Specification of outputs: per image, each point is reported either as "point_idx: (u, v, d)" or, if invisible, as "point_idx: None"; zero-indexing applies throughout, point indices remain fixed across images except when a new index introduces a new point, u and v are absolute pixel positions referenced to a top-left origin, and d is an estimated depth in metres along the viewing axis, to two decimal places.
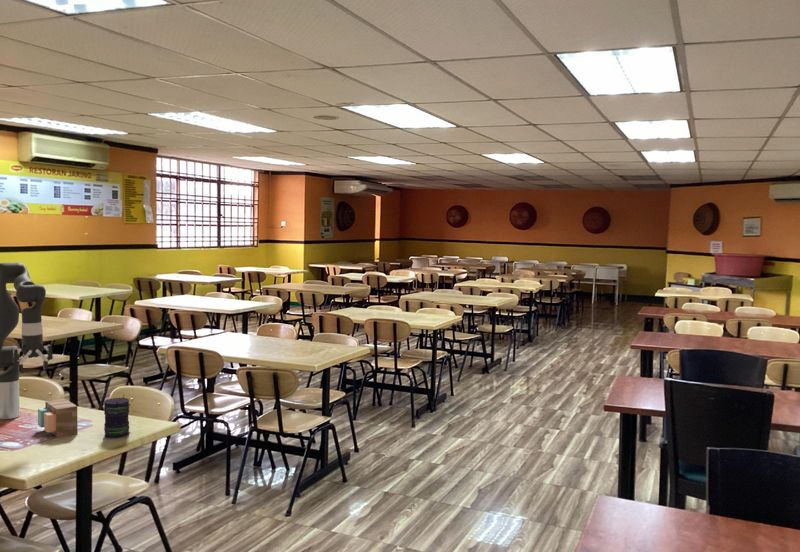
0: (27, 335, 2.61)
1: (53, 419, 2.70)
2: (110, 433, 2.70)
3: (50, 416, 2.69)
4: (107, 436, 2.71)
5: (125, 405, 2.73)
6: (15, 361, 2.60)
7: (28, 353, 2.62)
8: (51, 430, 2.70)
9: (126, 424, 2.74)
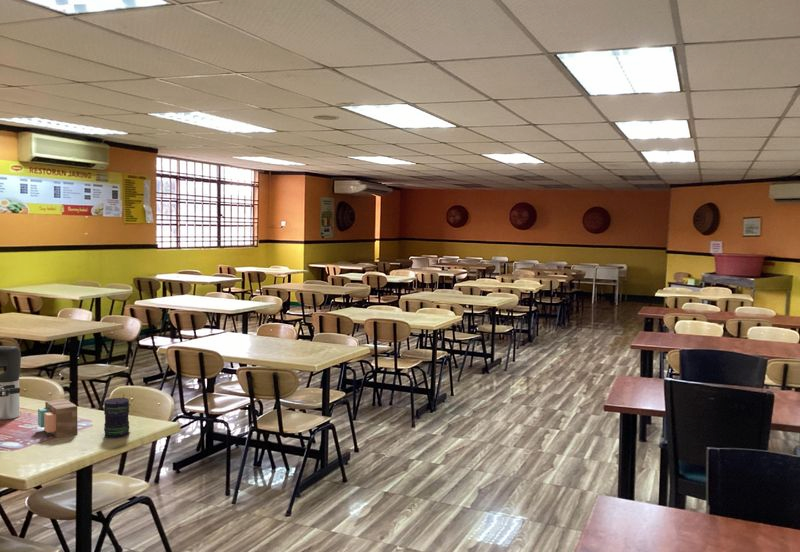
0: None
1: (53, 419, 2.70)
2: (110, 433, 2.70)
3: (50, 416, 2.69)
4: (107, 436, 2.71)
5: (125, 405, 2.73)
6: None
7: None
8: (51, 430, 2.70)
9: (126, 424, 2.74)
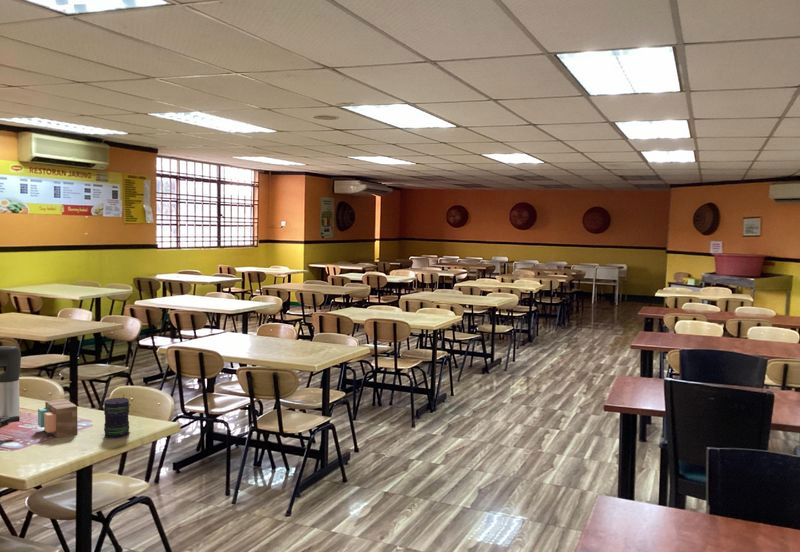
0: None
1: (53, 419, 2.70)
2: (110, 433, 2.70)
3: (50, 416, 2.69)
4: (107, 436, 2.71)
5: (125, 405, 2.73)
6: None
7: None
8: (51, 430, 2.70)
9: (126, 424, 2.74)
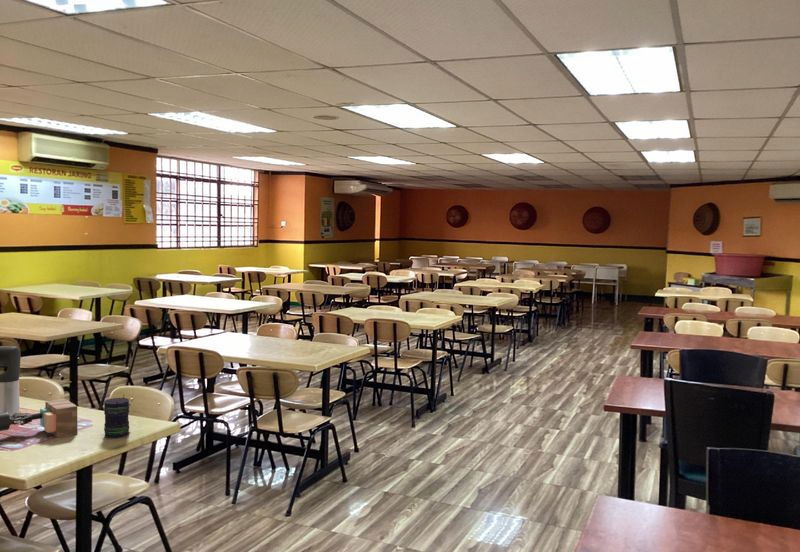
0: None
1: (53, 419, 2.70)
2: (110, 433, 2.70)
3: (50, 416, 2.69)
4: (107, 436, 2.71)
5: (125, 405, 2.73)
6: None
7: None
8: (51, 430, 2.70)
9: (126, 424, 2.74)
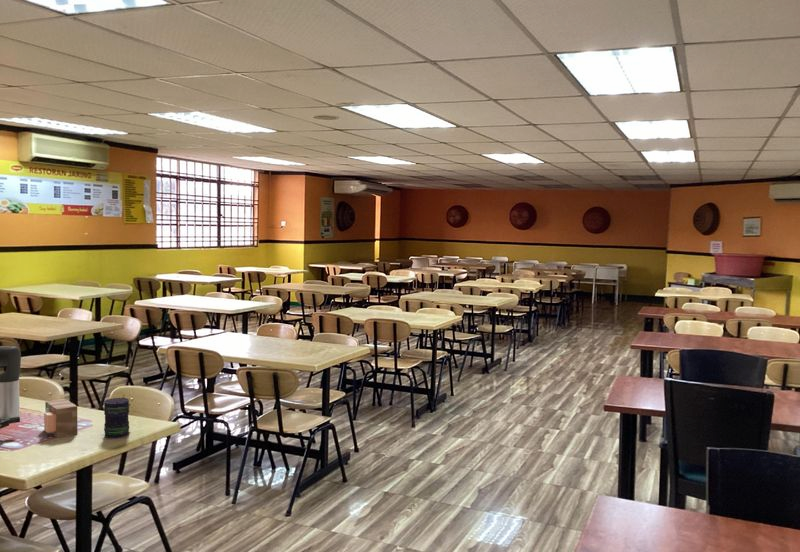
0: None
1: (53, 419, 2.70)
2: (110, 433, 2.70)
3: (50, 416, 2.69)
4: (107, 436, 2.71)
5: (125, 405, 2.73)
6: None
7: None
8: (51, 430, 2.70)
9: (126, 424, 2.74)
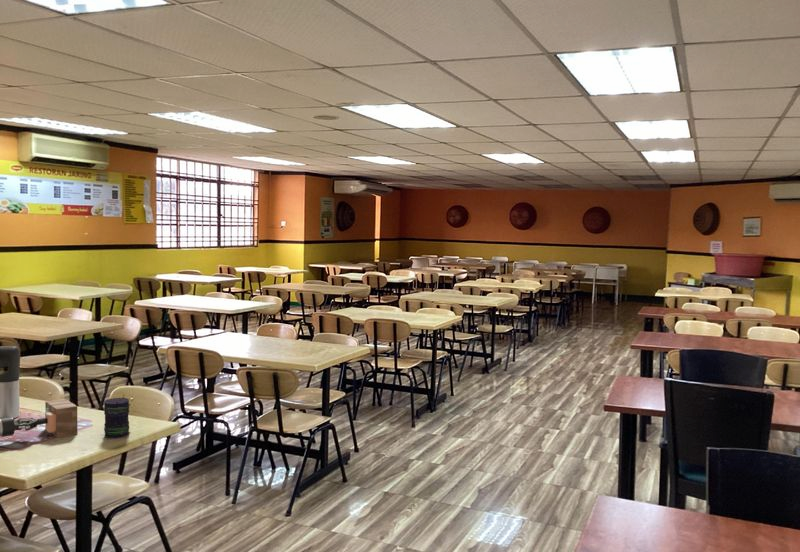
0: None
1: (54, 419, 2.71)
2: (110, 433, 2.70)
3: (51, 416, 2.70)
4: (107, 436, 2.71)
5: (125, 405, 2.73)
6: None
7: None
8: (52, 430, 2.70)
9: (126, 424, 2.74)
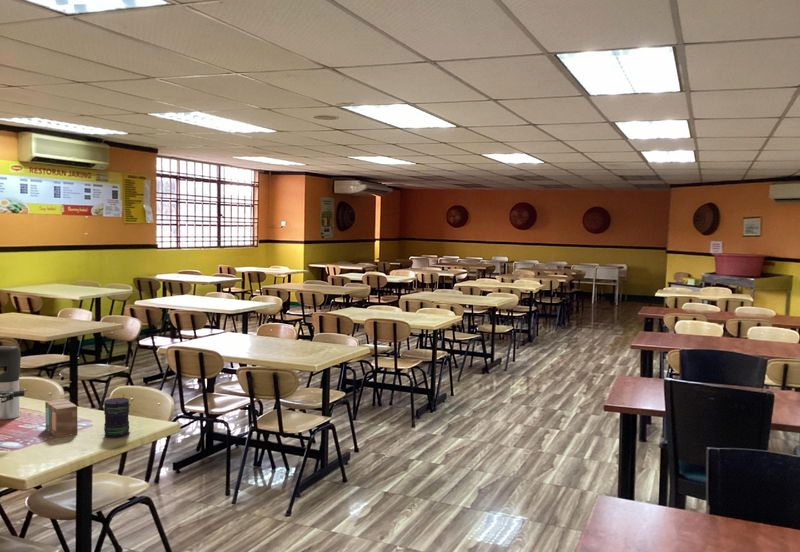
0: None
1: None
2: (110, 433, 2.70)
3: None
4: (107, 436, 2.71)
5: (125, 405, 2.73)
6: None
7: None
8: None
9: (126, 424, 2.74)
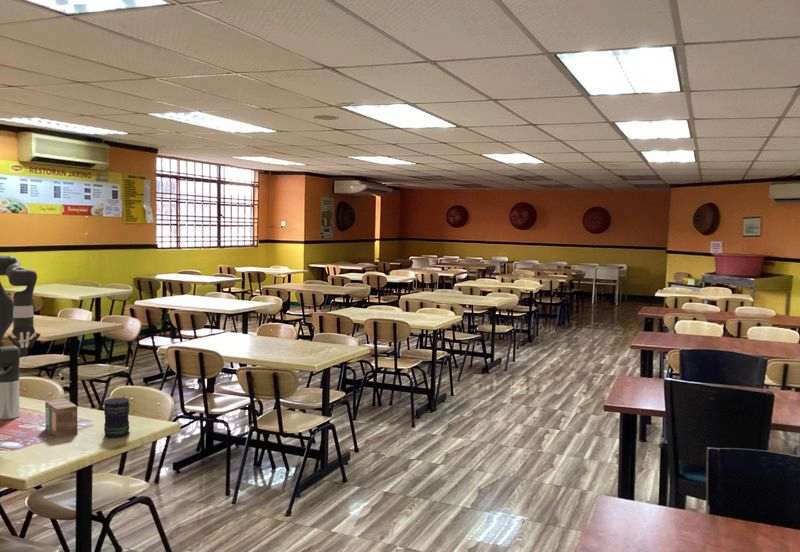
0: (19, 317, 2.71)
1: None
2: (110, 433, 2.70)
3: None
4: (107, 436, 2.71)
5: (125, 405, 2.73)
6: (17, 344, 2.73)
7: (21, 335, 2.73)
8: None
9: (126, 424, 2.74)
